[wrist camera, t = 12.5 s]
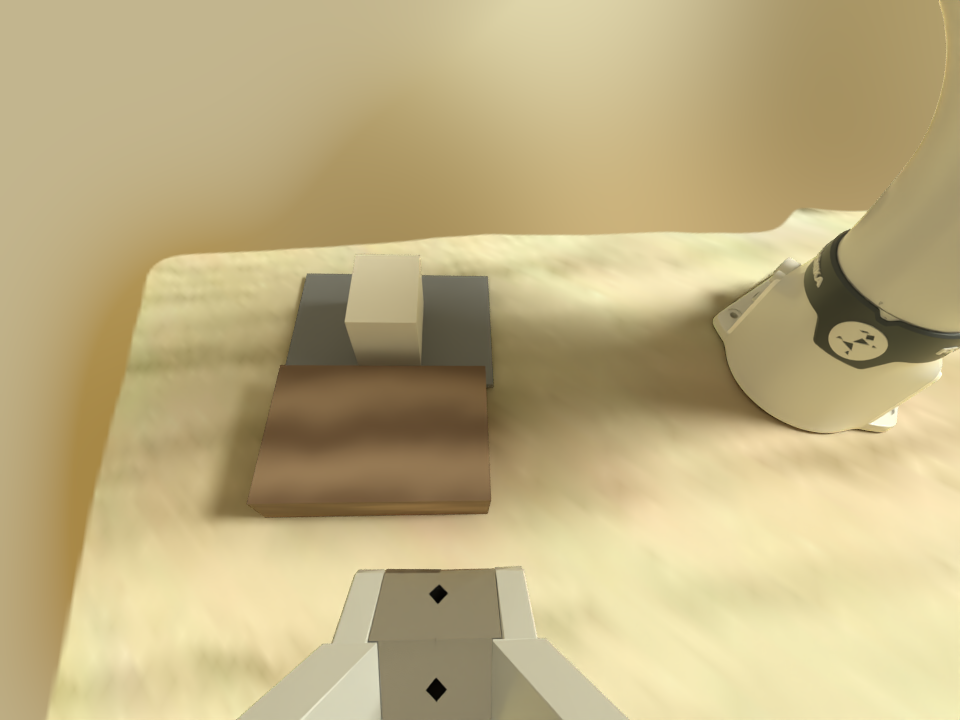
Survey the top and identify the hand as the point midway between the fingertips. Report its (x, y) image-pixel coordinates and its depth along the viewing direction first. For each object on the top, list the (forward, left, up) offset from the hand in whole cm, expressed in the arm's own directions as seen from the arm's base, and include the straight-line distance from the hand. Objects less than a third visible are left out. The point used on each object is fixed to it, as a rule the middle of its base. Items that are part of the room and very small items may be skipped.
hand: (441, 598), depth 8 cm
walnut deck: (-6, -14, -29) cm, 33 cm away
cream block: (-12, -20, -25) cm, 34 cm away
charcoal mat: (-15, -24, -29) cm, 41 cm away
